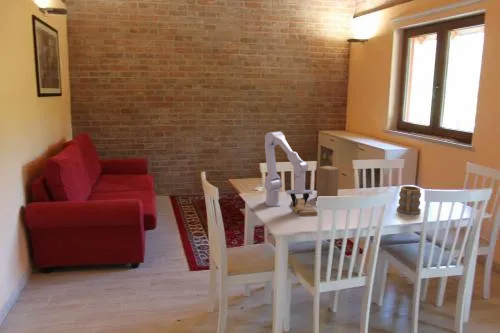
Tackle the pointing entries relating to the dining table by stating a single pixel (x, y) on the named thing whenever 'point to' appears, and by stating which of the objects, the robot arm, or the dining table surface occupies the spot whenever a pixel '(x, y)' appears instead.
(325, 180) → the wooden block
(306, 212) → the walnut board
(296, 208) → the tan wood block
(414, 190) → the tankard
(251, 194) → the dining table surface
